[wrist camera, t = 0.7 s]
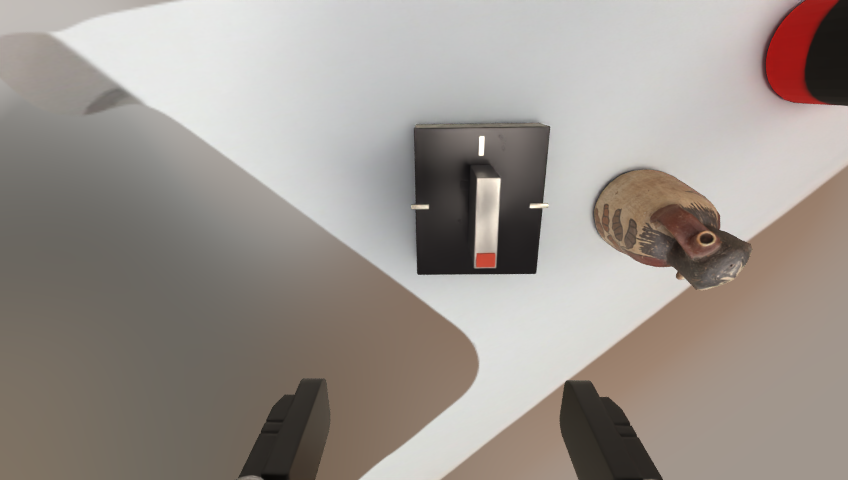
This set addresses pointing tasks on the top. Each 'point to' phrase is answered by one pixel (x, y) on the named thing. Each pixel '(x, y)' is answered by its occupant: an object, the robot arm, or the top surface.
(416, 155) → the tap plate
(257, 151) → the top surface
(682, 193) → the figurine
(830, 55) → the soda can
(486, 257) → the grey rectangular block
